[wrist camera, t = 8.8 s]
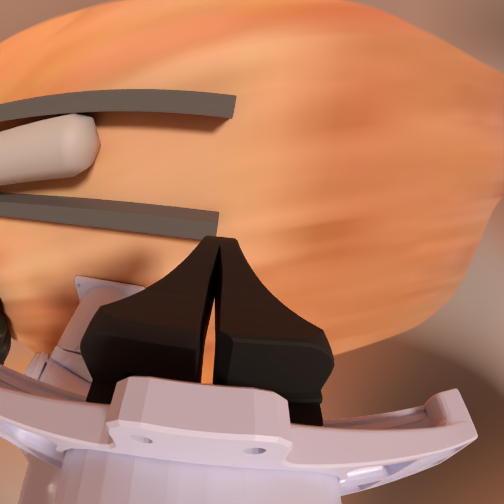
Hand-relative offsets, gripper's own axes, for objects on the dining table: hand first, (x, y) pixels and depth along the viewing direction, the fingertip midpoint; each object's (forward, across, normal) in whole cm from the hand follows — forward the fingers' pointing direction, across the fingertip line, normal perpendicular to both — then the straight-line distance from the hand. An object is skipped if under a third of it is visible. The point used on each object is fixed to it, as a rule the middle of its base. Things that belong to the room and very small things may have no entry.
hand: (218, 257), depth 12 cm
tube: (+11, +22, -2) cm, 25 cm away
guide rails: (+10, +13, -1) cm, 16 cm away
